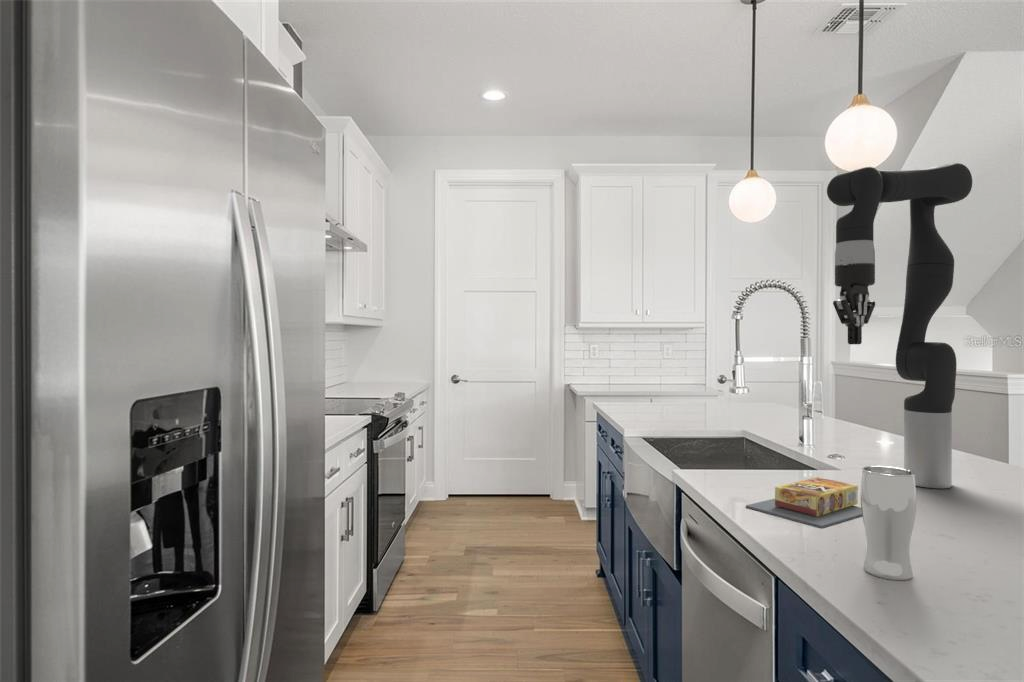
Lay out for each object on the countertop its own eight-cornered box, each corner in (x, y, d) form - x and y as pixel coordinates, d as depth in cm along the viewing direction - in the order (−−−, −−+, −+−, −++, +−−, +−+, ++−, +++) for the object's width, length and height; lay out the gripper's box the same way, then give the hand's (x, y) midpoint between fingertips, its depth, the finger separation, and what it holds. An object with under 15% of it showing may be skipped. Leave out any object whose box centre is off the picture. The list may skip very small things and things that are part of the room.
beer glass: (850, 564, 92) (850, 466, 92) (893, 562, 93) (893, 465, 93) (881, 582, 85) (881, 476, 85) (928, 581, 86) (928, 475, 86)
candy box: (858, 484, 123) (816, 495, 115) (858, 505, 123) (816, 517, 115) (816, 476, 130) (774, 485, 122) (816, 496, 130) (774, 506, 122)
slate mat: (797, 494, 133) (797, 492, 133) (873, 512, 119) (873, 510, 119) (745, 507, 123) (745, 505, 123) (822, 527, 110) (822, 525, 110)
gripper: (853, 267, 137) (853, 344, 137) (820, 263, 130) (820, 344, 130) (888, 263, 131) (888, 344, 131) (855, 259, 124) (855, 344, 124)
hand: (854, 344), depth 130 cm, fingers closed
